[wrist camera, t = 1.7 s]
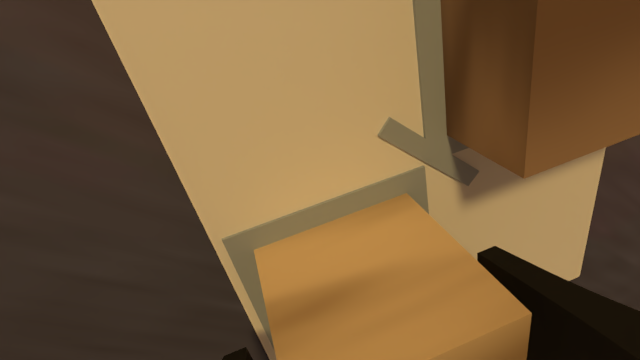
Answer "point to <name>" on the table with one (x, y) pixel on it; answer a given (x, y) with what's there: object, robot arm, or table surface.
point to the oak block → (386, 292)
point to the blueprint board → (329, 129)
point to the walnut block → (541, 78)
